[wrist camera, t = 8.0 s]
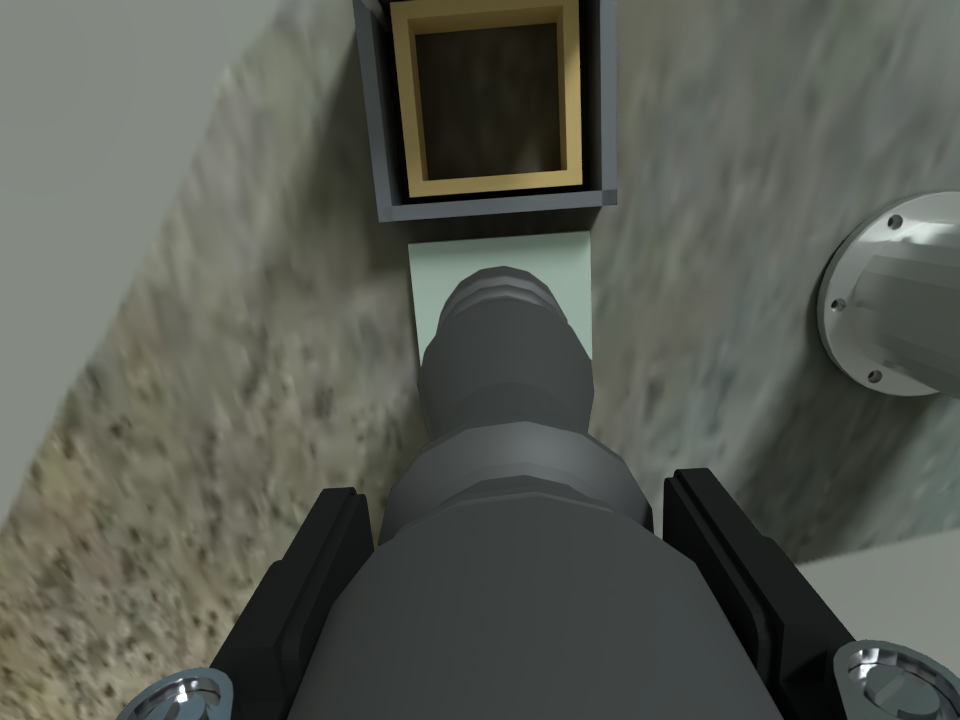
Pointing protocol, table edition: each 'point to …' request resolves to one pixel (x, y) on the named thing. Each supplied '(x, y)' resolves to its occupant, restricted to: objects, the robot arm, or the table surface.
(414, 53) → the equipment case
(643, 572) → the candle holder
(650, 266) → the table surface
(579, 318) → the sage pad
